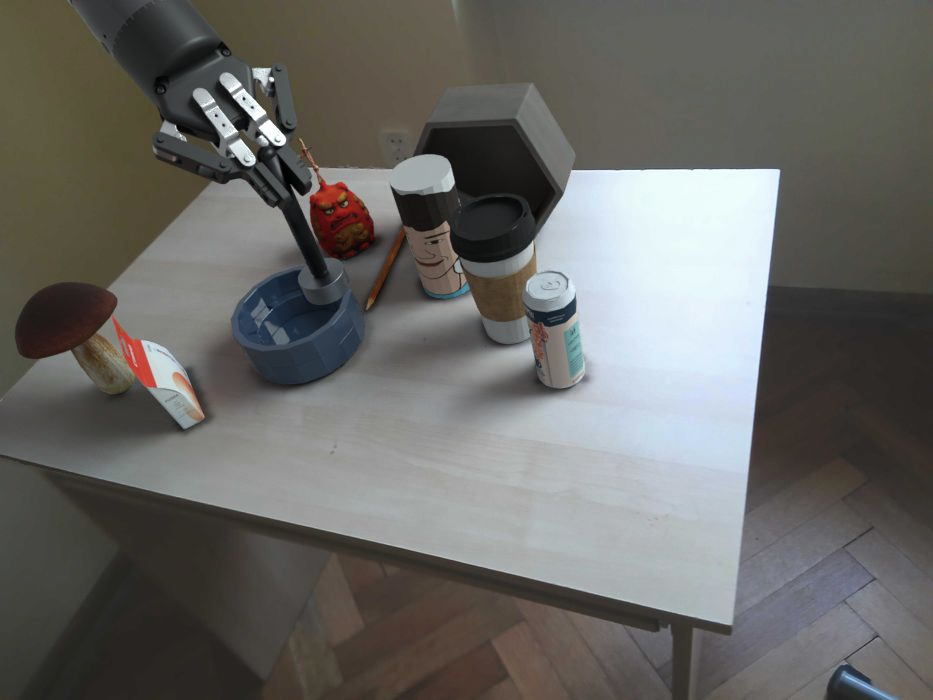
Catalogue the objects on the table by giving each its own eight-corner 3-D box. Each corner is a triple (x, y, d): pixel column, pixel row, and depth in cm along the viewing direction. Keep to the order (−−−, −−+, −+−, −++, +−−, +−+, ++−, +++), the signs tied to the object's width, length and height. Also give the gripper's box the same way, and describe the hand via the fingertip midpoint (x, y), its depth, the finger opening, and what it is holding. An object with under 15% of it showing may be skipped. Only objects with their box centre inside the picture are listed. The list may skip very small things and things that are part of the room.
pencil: (413, 219, 95) (412, 215, 94) (370, 312, 84) (368, 308, 83) (408, 219, 95) (406, 215, 95) (364, 312, 84) (362, 308, 83)
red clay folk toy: (336, 270, 91) (292, 169, 80) (314, 246, 95) (270, 148, 85) (386, 242, 93) (350, 140, 82) (362, 220, 97) (325, 121, 87)
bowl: (259, 404, 77) (235, 367, 73) (249, 326, 86) (227, 290, 82) (377, 360, 78) (360, 321, 74) (354, 288, 87) (338, 250, 83)
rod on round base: (308, 311, 65) (238, 169, 55) (302, 283, 69) (234, 143, 58) (354, 294, 66) (292, 150, 55) (345, 267, 69) (286, 126, 58)
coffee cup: (538, 357, 73) (516, 244, 63) (463, 347, 77) (431, 237, 66) (560, 302, 78) (544, 188, 68) (489, 294, 82) (463, 184, 71)
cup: (414, 277, 87) (378, 172, 76) (462, 253, 88) (434, 147, 77) (437, 306, 82) (402, 199, 71) (487, 281, 83) (461, 172, 73)
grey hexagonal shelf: (388, 217, 88) (442, 80, 72) (408, 181, 93) (463, 45, 77) (509, 277, 90) (588, 157, 74) (523, 239, 95) (599, 118, 79)
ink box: (186, 370, 83) (135, 299, 75) (206, 419, 77) (152, 347, 69) (163, 382, 83) (109, 312, 74) (181, 433, 76) (124, 362, 68)
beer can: (539, 356, 73) (523, 268, 65) (586, 354, 72) (575, 265, 64) (536, 392, 70) (518, 304, 62) (585, 391, 69) (573, 301, 61)
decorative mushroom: (123, 349, 89) (45, 255, 78) (187, 359, 84) (113, 261, 74) (61, 416, 82) (-32, 324, 72) (127, 431, 78) (37, 335, 67)
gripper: (66, 38, 50) (234, 228, 52) (222, -40, 56) (369, 133, 57) (80, 94, 57) (228, 260, 59) (217, 20, 62) (349, 173, 64)
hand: (297, 196), depth 58 cm, fingers closed on rod on round base
